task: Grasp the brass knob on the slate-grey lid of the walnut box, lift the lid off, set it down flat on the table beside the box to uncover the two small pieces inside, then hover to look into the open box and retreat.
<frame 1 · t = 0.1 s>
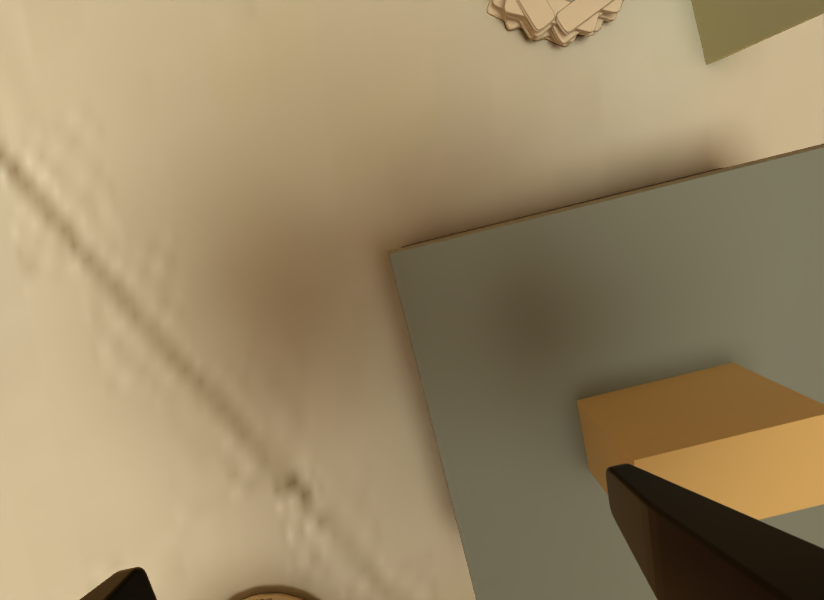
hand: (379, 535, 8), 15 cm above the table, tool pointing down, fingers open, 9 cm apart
lid: (642, 403, 18), point 5 cm above the table, touching box
box: (584, 357, 24), on the table
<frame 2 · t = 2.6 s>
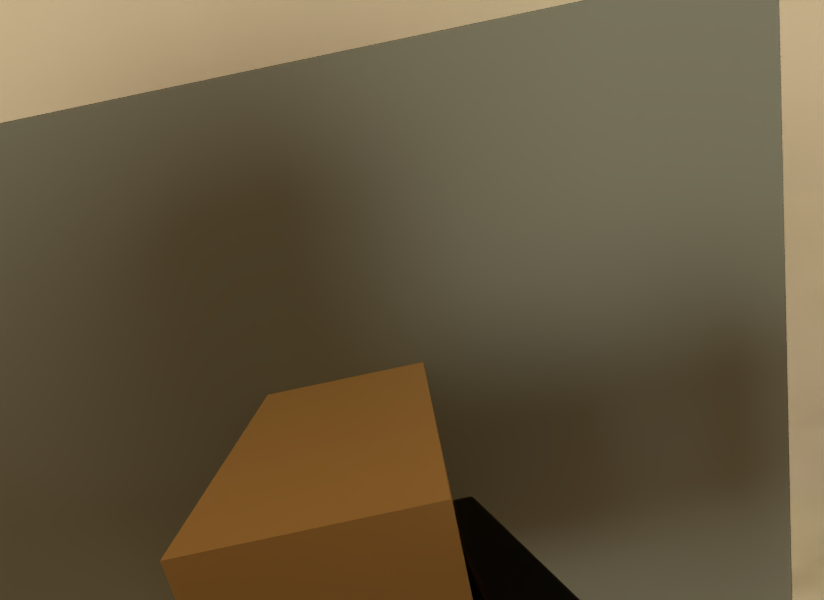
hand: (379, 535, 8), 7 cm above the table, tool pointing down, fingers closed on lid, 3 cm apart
lid: (381, 478, 10), point 5 cm above the table, touching box, gripper
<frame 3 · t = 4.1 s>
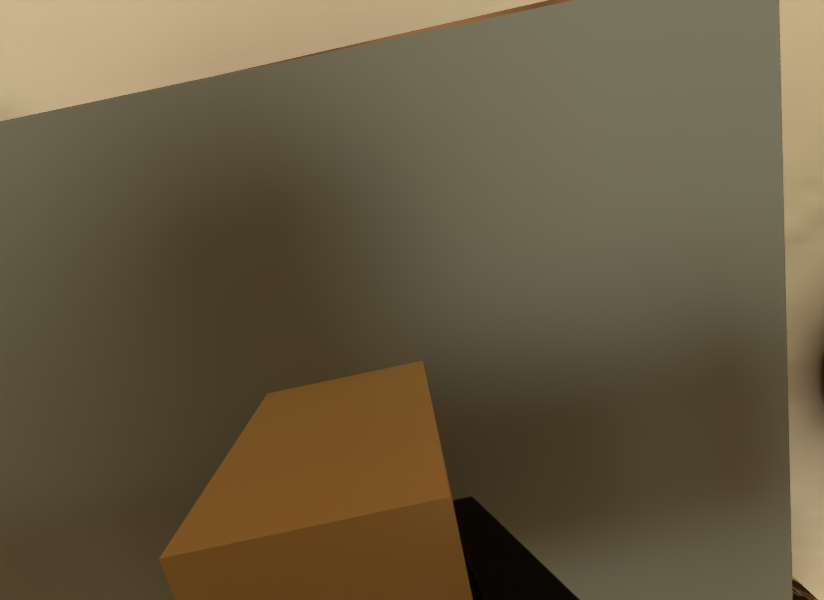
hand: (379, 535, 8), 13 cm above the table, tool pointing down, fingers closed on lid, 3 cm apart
lid: (381, 477, 10), point 11 cm above the table, touching gripper
supplement can: (692, 583, 25), on the table
box: (383, 278, 20), on the table
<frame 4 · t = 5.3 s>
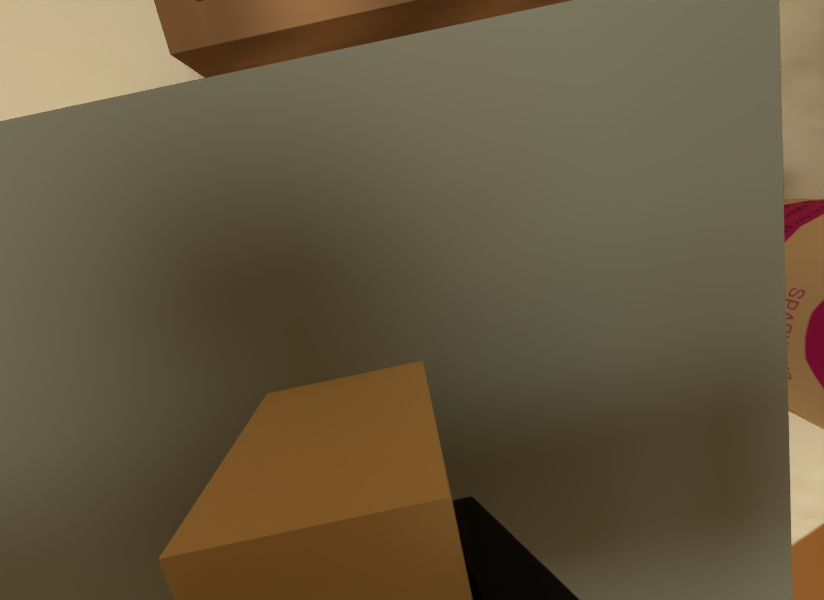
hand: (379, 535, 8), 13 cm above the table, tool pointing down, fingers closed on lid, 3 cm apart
lid: (380, 477, 10), point 11 cm above the table, touching gripper
supplement can: (735, 286, 22), on the table
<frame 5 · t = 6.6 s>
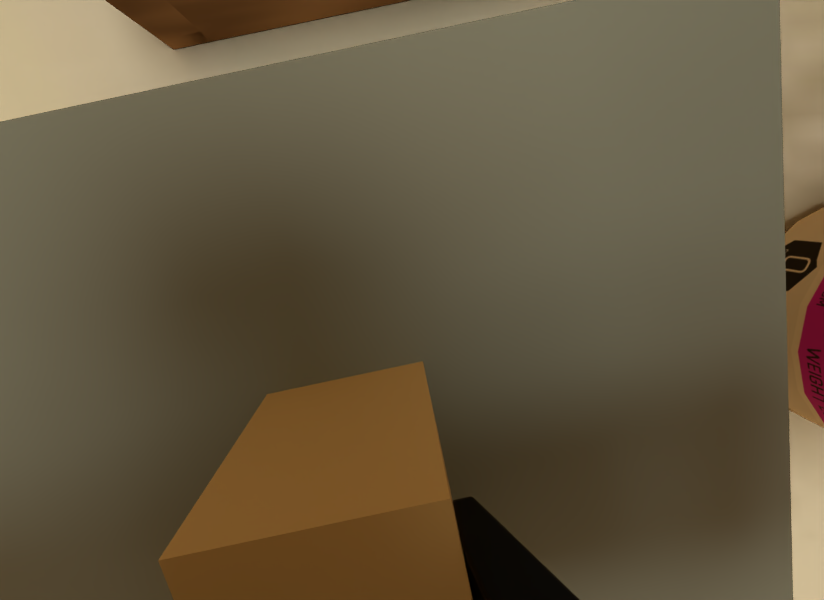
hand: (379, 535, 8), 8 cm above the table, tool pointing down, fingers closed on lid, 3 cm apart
lid: (381, 477, 10), point 6 cm above the table, touching gripper
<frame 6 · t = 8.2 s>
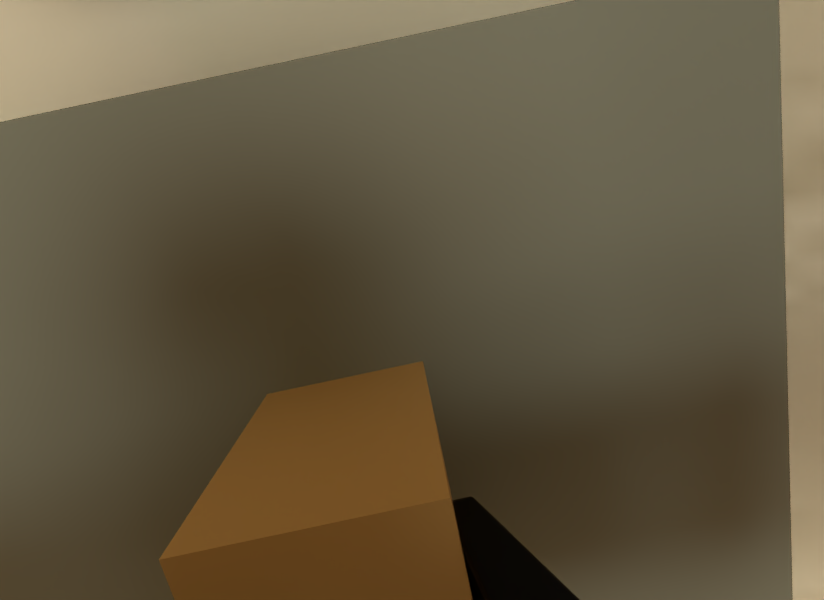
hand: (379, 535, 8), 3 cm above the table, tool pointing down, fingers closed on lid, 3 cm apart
lid: (381, 477, 10), point 1 cm above the table, touching gripper
when the fingers open (3 cm above the table, at t = 8.4 s): lid drops 2 cm, on the table.
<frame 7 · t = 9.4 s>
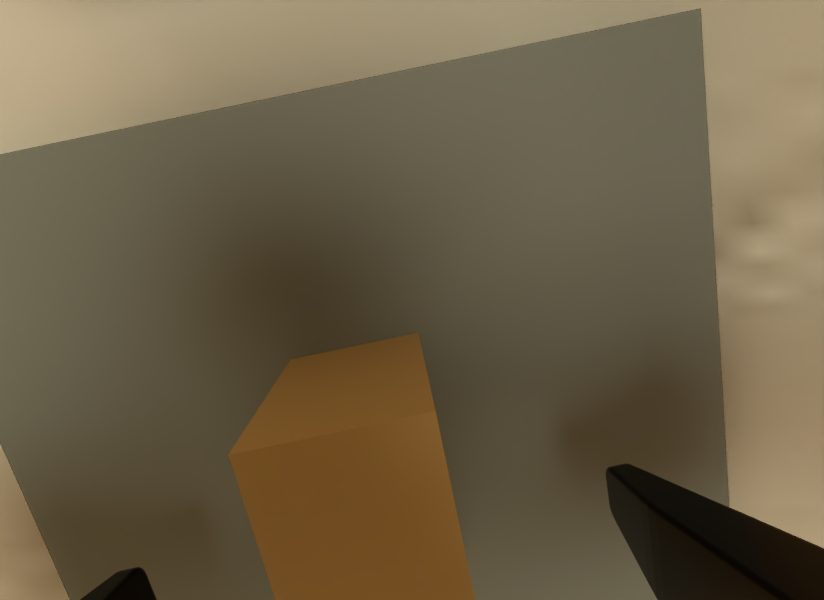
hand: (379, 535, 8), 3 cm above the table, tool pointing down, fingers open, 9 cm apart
lid: (383, 436, 12), on the table
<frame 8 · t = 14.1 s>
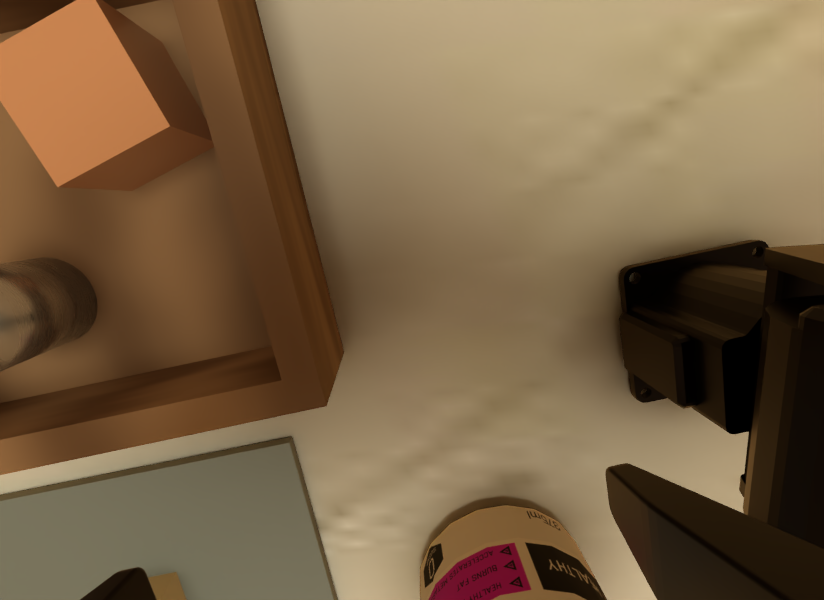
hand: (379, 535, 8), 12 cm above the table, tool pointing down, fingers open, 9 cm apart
grey metal cylinder: (52, 300, 18), point 1 cm above the table, touching box
supplement can: (496, 562, 23), on the table
terracotta cube: (146, 118, 17), point 1 cm above the table, touching box
box: (110, 212, 18), on the table
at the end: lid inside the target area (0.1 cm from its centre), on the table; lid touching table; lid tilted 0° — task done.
